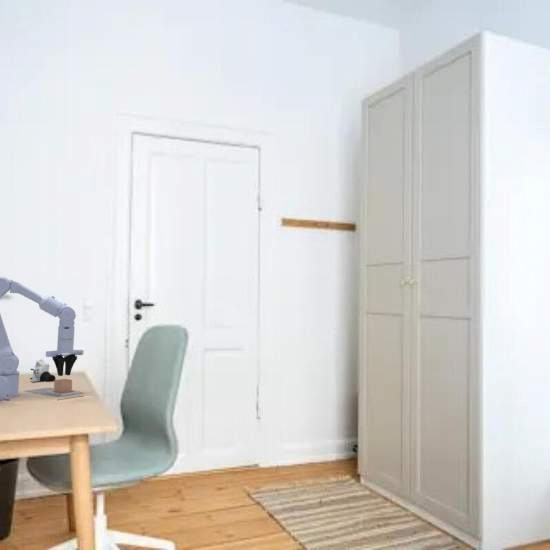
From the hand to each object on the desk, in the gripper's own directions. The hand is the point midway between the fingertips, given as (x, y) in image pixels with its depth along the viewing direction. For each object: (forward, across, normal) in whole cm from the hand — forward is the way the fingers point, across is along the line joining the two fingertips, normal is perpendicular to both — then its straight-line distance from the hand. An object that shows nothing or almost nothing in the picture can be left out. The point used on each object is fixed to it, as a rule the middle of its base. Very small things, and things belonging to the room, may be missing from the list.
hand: (63, 375), depth 211 cm
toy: (+8, -14, -38) cm, 41 cm away
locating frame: (+7, 0, 0) cm, 7 cm away
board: (+8, +1, -5) cm, 10 cm away
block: (+7, 0, 0) cm, 7 cm away
